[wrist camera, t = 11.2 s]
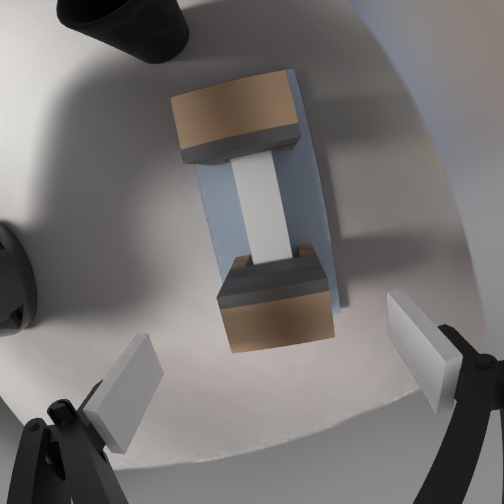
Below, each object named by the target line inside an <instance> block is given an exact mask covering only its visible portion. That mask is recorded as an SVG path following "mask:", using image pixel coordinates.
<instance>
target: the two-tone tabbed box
mask: <svg viewBox="0 0 504 504" xmlns="http://www.w3.org/2000/svg"><path fill="white" fill-rule="evenodd" d="M298 252H299V257H296V258H291V259H285V260H280V261H274V262H269V263H263V264H258V265H251V261H250V256H249V255H245V256H240V257H236V258H235V260H234V262H233V264H232V266H231V268H230V270H229V272H228V275H227V277H226V279H225V281H224V283H223V285H222V287H221V289H220V292H219V294H218V296H217V301H218V304H219V308H220V312H221V315H222V319H223V323H224V326H225V330H226V333H227V337H228V340H229V344H230V347H231V351H232V353H240V352H247V351H255V350H262V349H269V348H276V347H282V346H288V345H294V344H300V343H306V342H312V341H317V340H323V339H328V338H333V337H335V334H334V325H333V316H332V308H331V300H330V292H329V285H328V278H327V276H326V274H325V272H324V269H323V267H322V265H321V263H320V261H319V259H318V256H317V254H316V252H315V250H314V248H313V246H312V244H311V243H310V244H304V245H299V246H298Z"/></svg>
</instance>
